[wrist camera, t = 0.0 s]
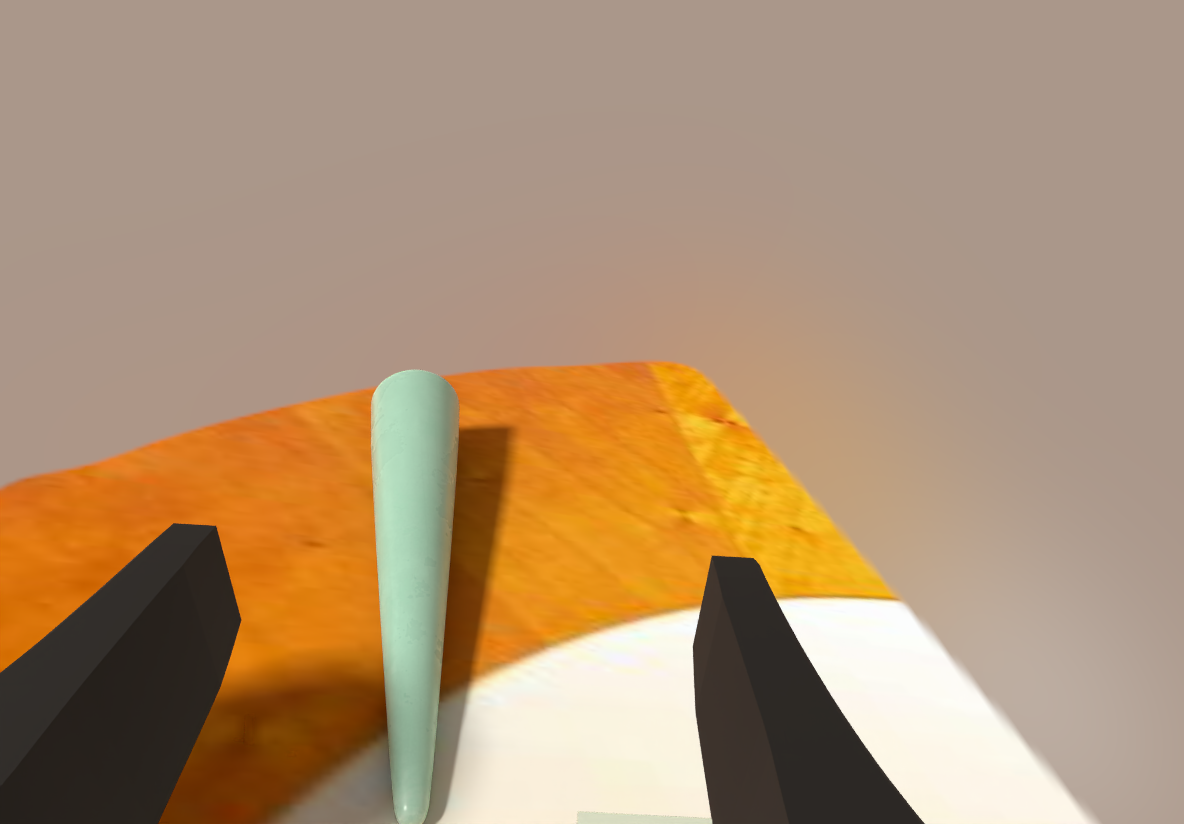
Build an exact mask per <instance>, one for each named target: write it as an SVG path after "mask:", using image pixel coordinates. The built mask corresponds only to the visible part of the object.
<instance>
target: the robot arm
mask: <svg viewBox="0 0 1184 824" xmlns="http://www.w3.org/2000/svg"><path fill="white" fill-rule="evenodd" d="M240 623H241V617H240V613H239V610H238V606H237V602H236V599H235V595H234V591H233V587H232V584H231V580H230V576H229V572H228V569H227V565H226V561H225V557H224V554H223V550H222V546H221V542H220V539H219V535H218V531H217V528H216V526H209V525H192V524H176V523H174V524H172V525H171V526H170V527H169V528H168V529H167V530H166V531H164V532H163V533H162V534H161V535H160V536H159V537H157V538H156V539H155V540H154V541H153V542H152V543H151V544H149V545H148V546H147V547H146V548H145V549H144V550H143V551H142V552H141V553H139V554H138V555H137V556H136V557H135V558H134V559H133V560H132V561H131V562H129V563H128V564H127V565H126V566H125V567H124V568H123V569H122V570H121V571H119V572H118V573H117V574H116V575H115V576H114V577H113V578H112V579H111V580H109V581H108V582H107V583H106V584H105V585H104V586H103V587H102V588H100V589H99V590H98V591H97V592H96V593H95V594H94V595H93V596H91V597H90V598H89V599H88V600H87V601H86V602H85V603H83V604H82V605H81V606H80V607H79V608H78V609H77V610H75V611H74V612H73V613H72V614H71V615H70V616H68V617H67V618H66V619H65V620H64V621H63V622H61V623H60V624H59V625H58V626H57V627H56V628H55V629H53V630H52V631H51V632H50V633H49V634H48V635H46V636H45V637H44V638H43V639H42V640H40V641H39V642H38V643H37V644H36V645H34V646H33V647H32V648H31V649H30V650H28V651H27V652H26V653H25V654H23V655H22V656H21V657H20V658H18V659H17V660H16V661H15V662H13V663H12V664H11V665H10V666H8V667H7V668H6V669H5V670H3V671H2V672H1V673H0V824H158V822H159V820H160V818H161V816H162V813H163V811H164V809H165V807H166V805H167V803H168V800H169V798H170V796H171V794H172V792H173V790H174V787H175V785H176V783H177V781H178V779H179V777H180V774H181V772H182V770H183V768H184V766H185V764H186V761H187V759H188V757H189V755H190V753H191V751H192V748H193V746H194V744H195V742H196V740H197V738H198V735H199V733H200V731H201V729H202V727H203V724H204V722H205V720H206V718H207V716H208V713H209V711H210V709H211V707H212V705H213V702H214V700H215V698H216V696H217V693H218V691H219V689H220V686H221V683H222V680H223V677H224V674H225V671H226V668H227V665H228V662H229V659H230V656H231V653H232V649H233V646H234V643H235V639H236V636H237V633H238V629H239V626H240ZM693 662H694V688H695V709H696V718H697V725H698V732H699V739H700V746H701V752H702V759H703V766H704V772H705V779H706V785H707V792H708V798H709V805H710V811H711V818H712V824H924V822H923V821H922V820H921V819H920V818H919V816H918V815H917V814H916V813H915V812H914V810H913V809H912V808H911V807H910V805H909V804H908V803H907V801H906V800H905V799H904V798H903V796H902V795H901V794H900V792H899V791H898V790H897V789H896V787H895V786H894V785H893V784H892V782H891V781H890V780H889V778H888V777H887V776H886V774H885V773H884V772H883V770H882V769H881V768H880V766H879V765H878V764H877V762H876V761H875V759H874V758H873V757H872V755H871V754H870V752H869V751H868V750H867V748H866V747H865V745H864V744H863V743H862V741H861V740H860V738H859V737H858V735H857V734H856V732H855V731H854V729H853V728H852V726H851V725H850V723H849V722H848V721H847V719H846V718H845V716H844V715H843V713H842V712H841V710H840V709H839V707H838V705H837V704H836V702H835V701H834V699H833V698H832V696H831V695H830V693H829V691H828V690H827V688H826V686H825V685H824V683H823V681H822V680H821V678H820V677H819V675H818V673H817V672H816V670H815V668H814V667H813V665H812V663H811V662H810V660H809V658H808V657H807V655H806V653H805V652H804V650H803V648H802V646H801V645H800V643H799V641H798V639H797V638H796V636H795V634H794V632H793V630H792V628H791V627H790V625H789V623H788V621H787V619H786V617H785V616H784V614H783V612H782V610H781V608H780V606H779V604H778V602H777V600H776V598H775V596H774V594H773V592H772V590H771V588H770V586H769V584H768V582H767V580H766V578H765V576H764V574H763V572H762V569H761V567H760V565H759V564H758V563H757V561H756V560H755V559H754V558H742V557H725V556H712V558H711V563H710V568H709V572H708V577H707V582H706V586H705V591H704V596H703V601H702V605H701V610H700V615H699V620H698V624H697V629H696V634H695V639H694V643H693Z"/></svg>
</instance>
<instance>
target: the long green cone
mask: <svg viewBox="0 0 1184 824" xmlns="http://www.w3.org/2000/svg"><path fill="white" fill-rule="evenodd" d="M458 443H459V400H458V397H457V394H456V392H455V390H454V389H453V387H452V386H451V385H450V384H449V383H448V382H447V381H446V380H445V379H443V378H442V377H440V376H438V375H437V374H434V373H431V372H429V371H423V370H406V371H402V372H398V373H396V374H393V375H391V376H390V377H388V378H387V379H385V380H384V381H383V382H382V383H381V384H380V385H379V386H378V387H377V389H376V390H375V392H374V395H373V397H372V402H371V456H372V476H373V496H374V514H375V532H376V549H377V567H378V583H379V600H380V616H381V633H382V649H383V665H384V681H385V696H386V711H387V727H388V742H389V757H390V770H391V782H392V793H393V805H394V811H395V815H396V819H397V821H398V823H399V824H423V822H424V821H425V818H426V816H427V812H428V808H429V802H430V792H431V783H432V773H433V764H434V753H435V741H436V729H437V717H438V705H439V693H440V681H441V669H442V657H443V645H444V632H445V620H446V607H447V594H448V582H449V569H450V556H451V543H452V530H453V516H454V503H455V489H456V474H457V460H458Z"/></svg>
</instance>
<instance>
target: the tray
mask: <svg viewBox="0 0 1184 824" xmlns="http://www.w3.org/2000/svg"><path fill="white" fill-rule="evenodd" d="M577 824H712V818H696V817H677V816H657V815H638V814H619V813H600V812H581V811H578V814H577Z"/></svg>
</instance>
